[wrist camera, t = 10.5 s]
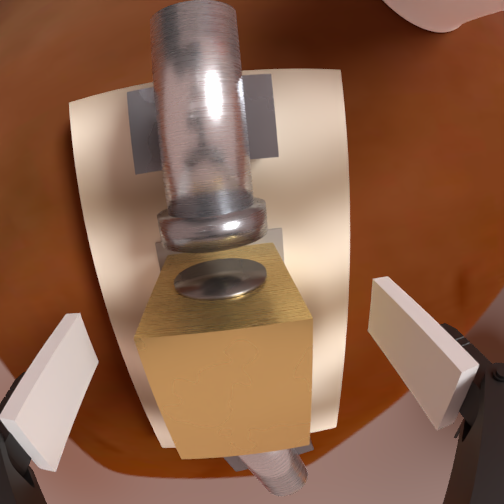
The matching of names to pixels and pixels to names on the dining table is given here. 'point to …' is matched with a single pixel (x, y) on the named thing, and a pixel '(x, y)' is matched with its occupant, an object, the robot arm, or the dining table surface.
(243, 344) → the wooden block with hole
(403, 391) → the dining table surface
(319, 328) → the bench
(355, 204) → the dining table surface
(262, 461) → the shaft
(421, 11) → the mug
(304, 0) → the dining table surface
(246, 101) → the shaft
